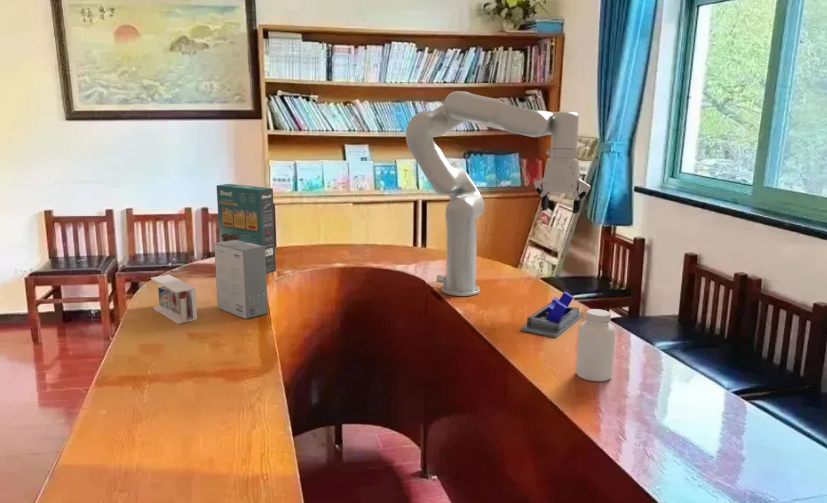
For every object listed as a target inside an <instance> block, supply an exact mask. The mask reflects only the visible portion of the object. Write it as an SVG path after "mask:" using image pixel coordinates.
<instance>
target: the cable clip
mask: <svg viewBox="0 0 827 503" xmlns="http://www.w3.org/2000/svg"><path fill="white" fill-rule="evenodd" d="M574 297H575V296H574V295H572V294H570V293H569V292H568V291H563V293H562V295H561V296H560V298H558V297H556V296H554V297H553V299H552V300H551V302H549V303H550V305H549V306H548V308H547V309H546V312H548V313H550V314H549V316H548V317H547V319H546V320H549V321H555V322H556V321H558V320H560V318H561V317H562V315H563V313H564V312H565V310H566V309H567V307H568V306H569V305H570V304H571V303H572V300H573V299H574Z"/></svg>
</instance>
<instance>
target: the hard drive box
mask: <svg viewBox="0 0 827 503" xmlns="http://www.w3.org/2000/svg"><path fill="white" fill-rule="evenodd" d="M213 246H214V247H213V248H214V264H215V280H216V281H215V282H216V298H217V309H219V310H222V311H225V312H227V313H230V314H233V315H235V316H237V317H239V318H243V319H245V320H246V319H251V318H255V317H259V316H262V315H263V316H264V315H267V314H268V313H269V312H268V310H269V309H268V291H267V289H268V288H267V286H268V285H267V274H266V261H265V247H264V246H260V245H256V244H252V243H247V242H243V241H238V240H231V241H225V242H220V241H219V242H214V244H213Z"/></svg>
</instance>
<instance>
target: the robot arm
mask: <svg viewBox="0 0 827 503" xmlns="http://www.w3.org/2000/svg"><path fill="white" fill-rule="evenodd" d="M465 122H468V123H473V124H475V125H480V126H483V127H487V128H488V127H489V128H491V129H495V130H501V131H506V132H509V133H513V134H518V135H522V136H526V137H531V138H538V137H543V136H550V135H551V141H550V148H549V149H546V151H545V152H546V155H549V157H547V159H546V162H545V167H544V174H543V177H541V178H540V179H537V180H536V181H534V182H533V185H534V188H535V190H536V192H537V194H539V197H540V198H541V201H540V207H541V210H542V211H548V210H549V196H548V195H549V194H550V193H555V194H566V195H567V194H568V195H570V194H571V195H572V196H573V198H574V200H573V206H572V207H573V208H572V214H578V213H579V212H580V211H581V204H582V203H581V201H582V199H583V198H585V197H586V196H587V195H588V193H589V192H590V189H591V188H592V187H591V185H590V184H588V183H587V182H585V181H584V180H583V179H581V173H580V172H581V170H580V162H579V159H578V158H577V153H578V152H577V151H578V137H579V136H578V134H579V114H578V112H575V111H556V112H555V111H548V110H540V109H539V110H535V109H530V108H525V107H524V108H523V107H520V106H517V105H511V104H508V103H505V102H504V101H502V100H500V99H498V98H494V97H488V96H483V95H480V94H475V93H471V92H468V91H459V90H455V91H452V92H451V93H449V94H448V95H447V96H446V97H445V99H444V102H443V104H442V105H440V106H439V107H437V108H435V109H433V110H422V111H418V112H417V113H416V114H414V115H413V116H412V117H411V118H410V120H409V121H408V124H407V127H406V130H405V140H406V145H407V147H408V150H409V152H410V153H411V155H412V156H413V158H414V160H415V161H416V163H417V165H418V166H419V168H420V169H421V171H422V173H423V175H424V176H425V178H426V179H427V181H428V183H429V184H430V186H431V188H432V190H434V192H435V193H436V194H438V195H440V196H448V197H449V199H450V200H449V201H448V202H447V205H446V207H445V223H446V264H445V265H446V271H445V275H441V274H438V275H437V276H436V279H435V280H436V283H441V284H442V285H441V288H440V290H441V292H442V293H443V294H446V295H449V296H456V297H467V296H475V295H477V294H479V293H480V292H481V287H480V286H478V285H477V284H476V281H477V280H476V276H477V275H476V274H477V270H476V269H477V246H478V245H477V242H478V241H477V240H478V238H477V237H478V236H477V225H476V223H477V221H476V219H478V218H480V217H481V216H482V215H483V213H484V210H485V201H484V198H483V196H482V195H481V193H480V191H479V190H478V188H477V186H476V184H474V182H473V180H472V179H471V177H470V175H469V173H467V171H466V170H465V168H463V167H462V166H461V165H459V164H457V163H450V162H449V161H448V159H447V157H446V156H445V154H444V152H443V151H442V150H441V148H440V147H439V146H438V145H437V143H436V142H435V140H434V138H437V137H441V136H444V135H446V134H447V133H448V132H450V131H451V130H453V129H455V128H457V127H459V126H460V125H461V124H464V123H465ZM541 184H542V186H541ZM580 187H583V190H582V192H580V191H579V190H580Z"/></svg>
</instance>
